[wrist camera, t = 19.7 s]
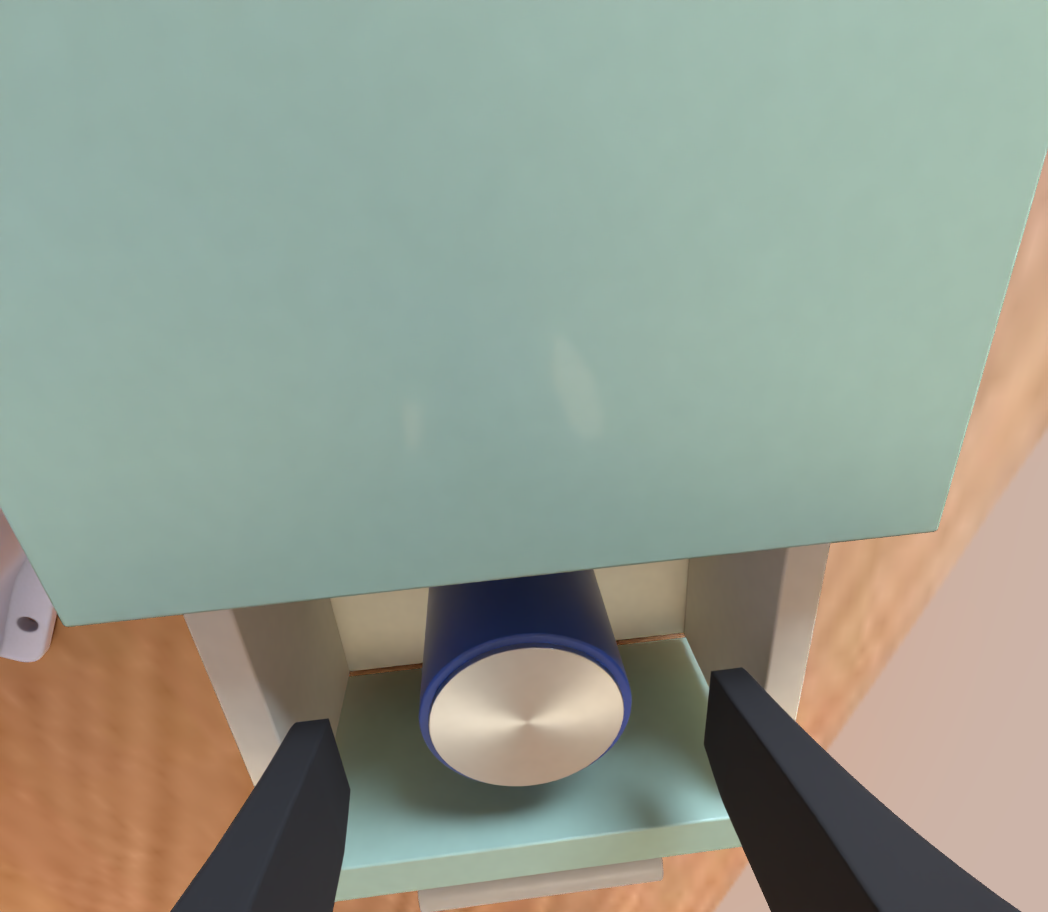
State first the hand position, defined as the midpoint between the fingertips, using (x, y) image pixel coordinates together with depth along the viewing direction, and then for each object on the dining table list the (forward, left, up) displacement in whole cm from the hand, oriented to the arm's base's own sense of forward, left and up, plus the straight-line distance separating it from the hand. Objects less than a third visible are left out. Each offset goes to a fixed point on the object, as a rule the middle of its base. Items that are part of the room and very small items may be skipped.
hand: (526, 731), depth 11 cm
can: (0, 0, -5) cm, 5 cm away
